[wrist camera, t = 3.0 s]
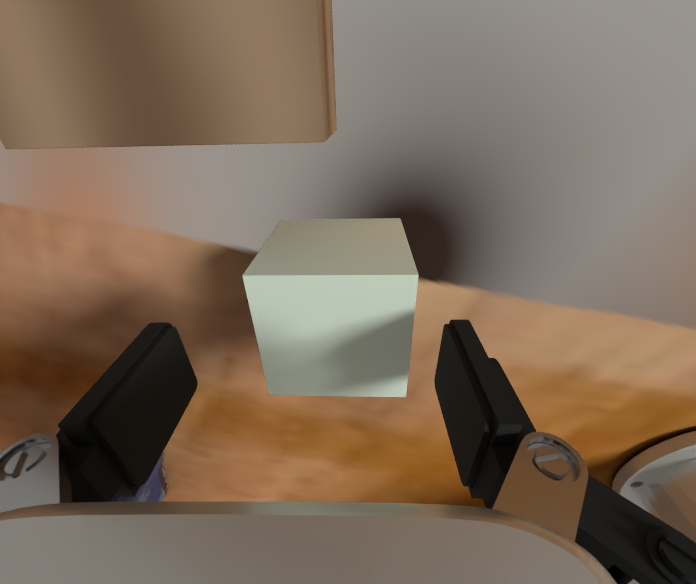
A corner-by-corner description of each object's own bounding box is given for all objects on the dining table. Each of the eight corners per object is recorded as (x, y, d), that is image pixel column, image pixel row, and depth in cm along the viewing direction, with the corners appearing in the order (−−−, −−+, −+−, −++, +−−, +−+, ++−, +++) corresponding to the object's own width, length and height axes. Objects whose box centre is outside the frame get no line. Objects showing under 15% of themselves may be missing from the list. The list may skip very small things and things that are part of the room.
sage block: (400, 218, 16) (418, 274, 10) (393, 316, 19) (405, 397, 14) (281, 219, 16) (242, 275, 11) (294, 316, 19) (269, 395, 14)
